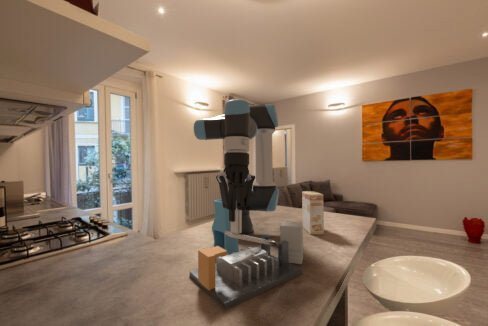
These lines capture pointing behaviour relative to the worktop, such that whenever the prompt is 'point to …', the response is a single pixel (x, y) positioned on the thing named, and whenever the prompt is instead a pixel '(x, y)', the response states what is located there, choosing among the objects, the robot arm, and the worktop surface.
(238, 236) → the strap
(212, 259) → the lug slider
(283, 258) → the heatsink
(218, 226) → the vase
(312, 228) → the coffeecake box
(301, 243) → the supplement box
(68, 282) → the worktop surface
